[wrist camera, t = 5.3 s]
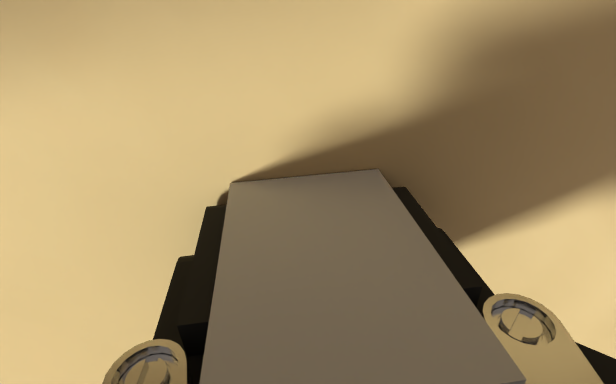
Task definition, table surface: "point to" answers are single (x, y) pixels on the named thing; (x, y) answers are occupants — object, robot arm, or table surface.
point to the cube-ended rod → (339, 292)
